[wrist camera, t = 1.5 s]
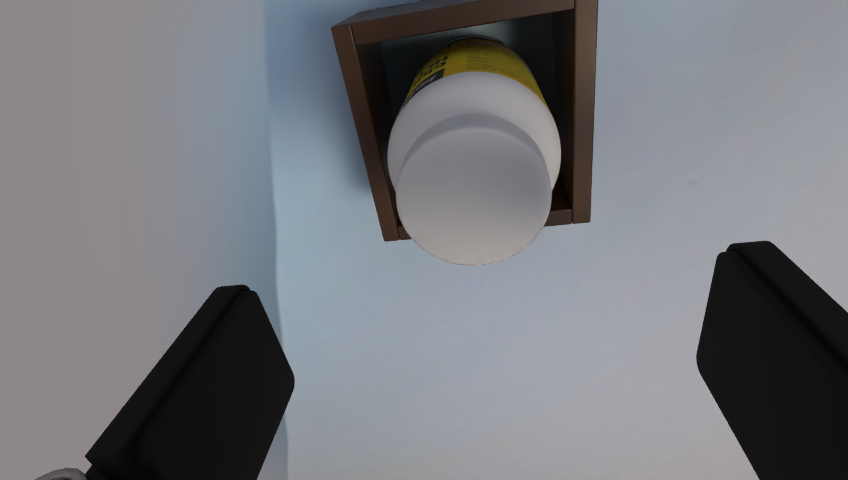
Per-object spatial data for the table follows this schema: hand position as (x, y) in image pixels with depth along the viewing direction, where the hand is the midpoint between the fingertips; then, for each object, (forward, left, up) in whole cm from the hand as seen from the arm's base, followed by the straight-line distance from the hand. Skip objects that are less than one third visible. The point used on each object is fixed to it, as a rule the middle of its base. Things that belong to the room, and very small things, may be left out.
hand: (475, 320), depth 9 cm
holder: (0, 0, -16) cm, 16 cm away
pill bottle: (0, 0, -16) cm, 16 cm away
